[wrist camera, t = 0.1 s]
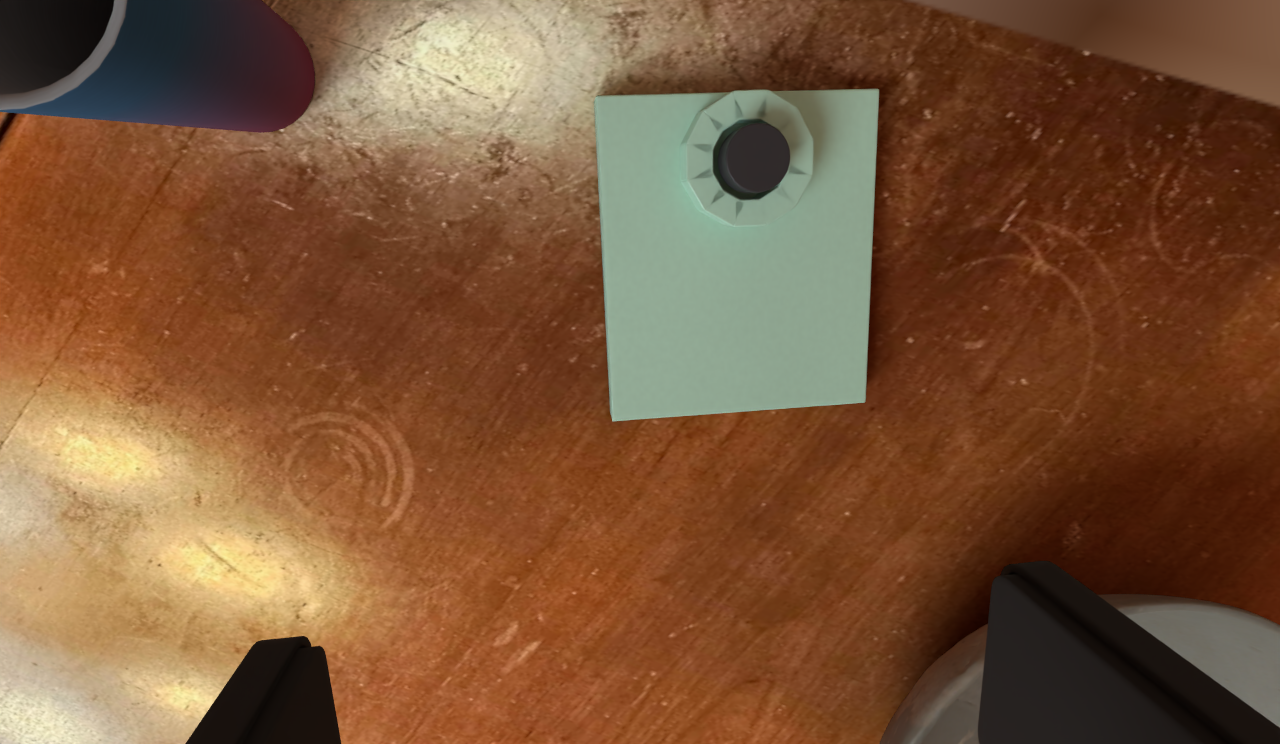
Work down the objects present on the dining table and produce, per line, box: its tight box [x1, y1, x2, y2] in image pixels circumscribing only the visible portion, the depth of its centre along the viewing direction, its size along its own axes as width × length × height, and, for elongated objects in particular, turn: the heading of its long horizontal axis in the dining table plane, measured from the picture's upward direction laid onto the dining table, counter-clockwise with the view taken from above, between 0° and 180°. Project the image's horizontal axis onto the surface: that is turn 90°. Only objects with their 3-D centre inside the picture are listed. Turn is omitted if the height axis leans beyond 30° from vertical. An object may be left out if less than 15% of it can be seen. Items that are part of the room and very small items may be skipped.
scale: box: [594, 89, 879, 421], centre depth 32 cm, size 15×13×3 cm
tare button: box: [718, 123, 790, 193], centre depth 29 cm, size 3×3×2 cm
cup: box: [0, 0, 315, 132], centre depth 22 cm, size 7×7×15 cm
